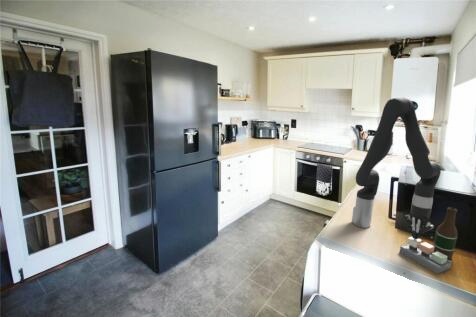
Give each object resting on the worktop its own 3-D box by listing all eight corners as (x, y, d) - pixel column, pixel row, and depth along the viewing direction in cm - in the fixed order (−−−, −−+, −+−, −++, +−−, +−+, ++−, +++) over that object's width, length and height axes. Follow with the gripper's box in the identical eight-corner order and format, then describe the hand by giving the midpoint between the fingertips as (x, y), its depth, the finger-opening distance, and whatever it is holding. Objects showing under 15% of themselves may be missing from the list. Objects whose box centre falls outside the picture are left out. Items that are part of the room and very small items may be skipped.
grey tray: (399, 252, 125) (401, 242, 124) (411, 247, 128) (412, 238, 127) (438, 273, 110) (440, 263, 109) (450, 268, 113) (452, 258, 112)
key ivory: (407, 243, 124) (408, 237, 123) (412, 241, 126) (413, 236, 125) (415, 247, 120) (416, 242, 120) (420, 246, 122) (422, 240, 121)
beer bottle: (443, 249, 127) (453, 204, 122) (456, 259, 120) (468, 212, 114) (427, 249, 127) (437, 204, 121) (440, 259, 119) (451, 212, 114)
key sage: (430, 259, 115) (432, 253, 114) (436, 257, 116) (437, 251, 116) (440, 264, 111) (442, 258, 110) (446, 262, 113) (447, 256, 112)
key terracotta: (418, 249, 119) (420, 243, 118) (424, 247, 121) (425, 241, 120) (428, 254, 116) (429, 248, 115) (433, 252, 117) (434, 246, 117)
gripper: (402, 200, 122) (396, 233, 126) (432, 211, 111) (425, 247, 115) (412, 198, 125) (406, 230, 129) (442, 208, 114) (435, 243, 118)
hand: (415, 238), depth 122 cm, fingers closed
